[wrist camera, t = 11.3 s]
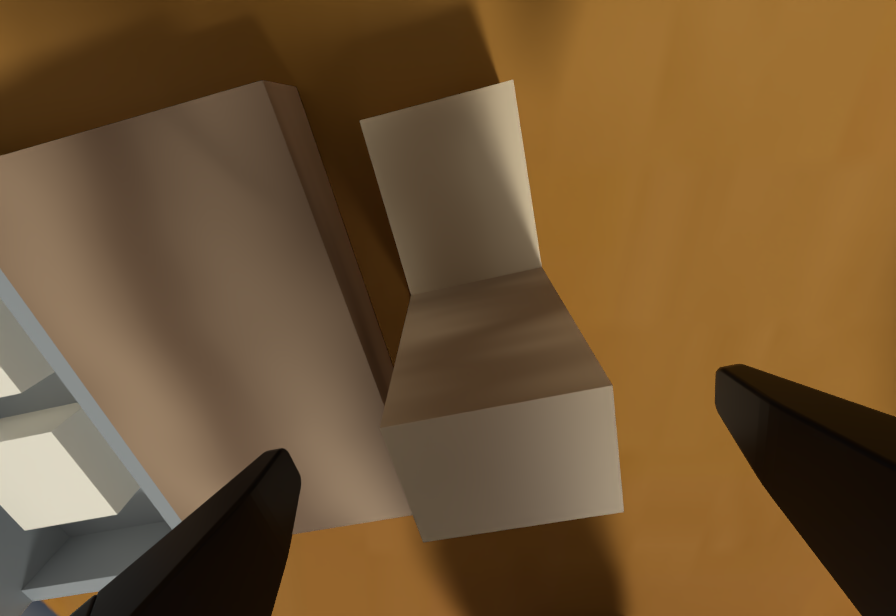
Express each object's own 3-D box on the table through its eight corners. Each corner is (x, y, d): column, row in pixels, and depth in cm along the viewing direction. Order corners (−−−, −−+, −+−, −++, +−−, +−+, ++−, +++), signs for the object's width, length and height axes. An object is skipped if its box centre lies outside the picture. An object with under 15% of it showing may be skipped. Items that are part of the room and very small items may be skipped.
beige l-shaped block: (500, 88, 13) (580, 34, 5) (554, 414, 18) (637, 655, 10) (378, 120, 13) (261, 122, 5) (464, 430, 19) (474, 674, 10)
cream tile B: (93, 399, 17) (51, 431, 16) (149, 476, 19) (117, 514, 17) (1, 418, 18) (-50, 452, 16) (64, 492, 20) (24, 530, 18)
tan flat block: (296, 86, 13) (262, 80, 11) (427, 466, 19) (423, 513, 17) (17, 166, 14) (-67, 175, 12) (229, 500, 20) (201, 548, 18)
